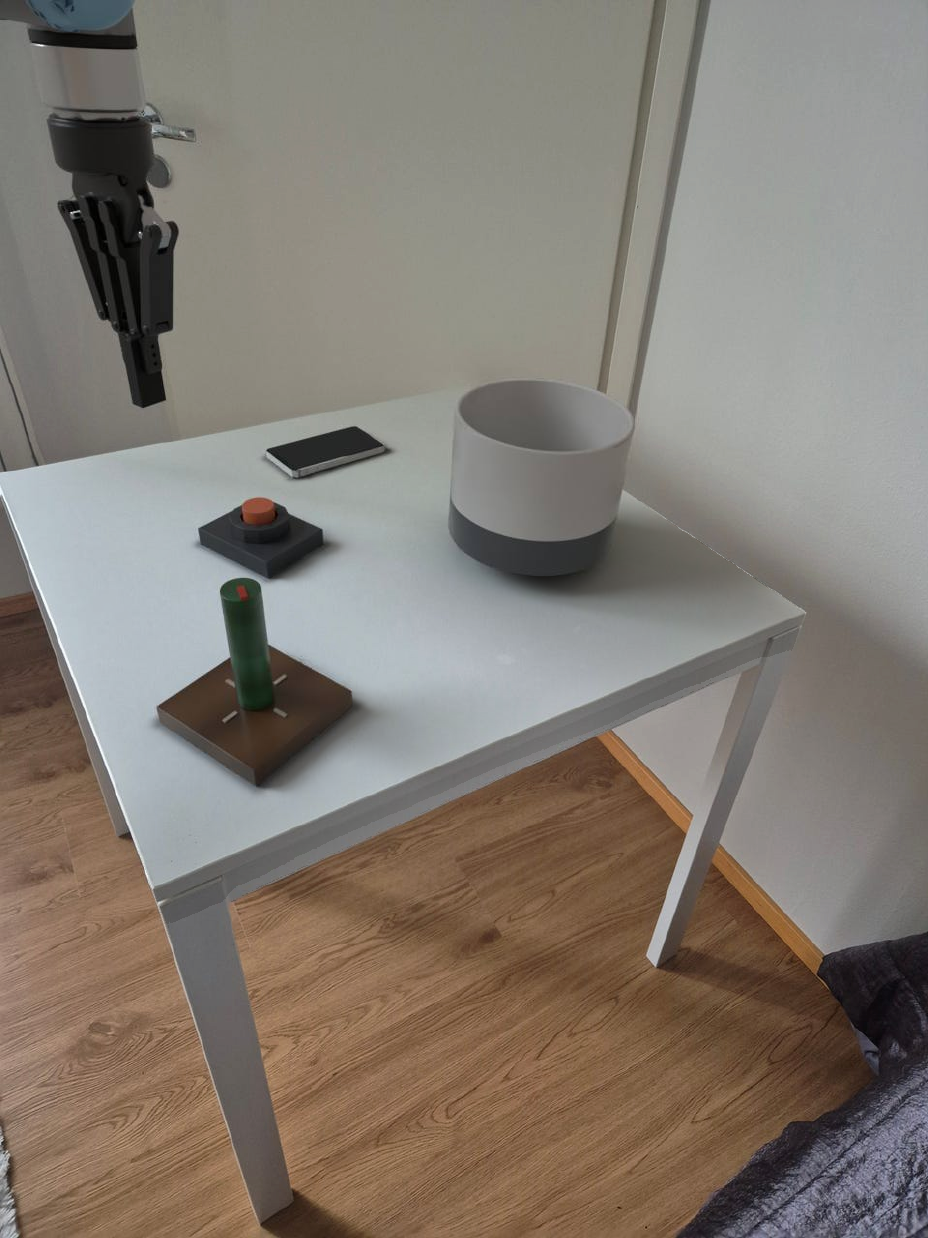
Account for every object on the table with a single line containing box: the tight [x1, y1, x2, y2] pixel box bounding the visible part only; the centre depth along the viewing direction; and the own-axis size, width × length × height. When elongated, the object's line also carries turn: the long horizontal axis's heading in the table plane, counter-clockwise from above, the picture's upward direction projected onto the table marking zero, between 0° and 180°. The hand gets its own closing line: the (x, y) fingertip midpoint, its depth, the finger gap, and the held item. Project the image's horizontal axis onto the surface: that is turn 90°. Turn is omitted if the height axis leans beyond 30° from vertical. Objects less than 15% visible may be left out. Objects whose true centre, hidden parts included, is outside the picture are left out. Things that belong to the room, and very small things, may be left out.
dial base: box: [156, 643, 353, 787], centre depth 72 cm, size 12×12×2 cm
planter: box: [447, 377, 636, 577], centre depth 91 cm, size 19×19×18 cm
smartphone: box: [265, 425, 386, 478], centre depth 112 cm, size 8×1×15 cm
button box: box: [197, 501, 324, 579], centre depth 93 cm, size 11×9×4 cm
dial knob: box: [219, 577, 274, 711], centre depth 67 cm, size 3×3×12 cm
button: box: [241, 497, 275, 525], centre depth 91 cm, size 4×4×2 cm
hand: (149, 401), depth 77 cm, fingers closed
